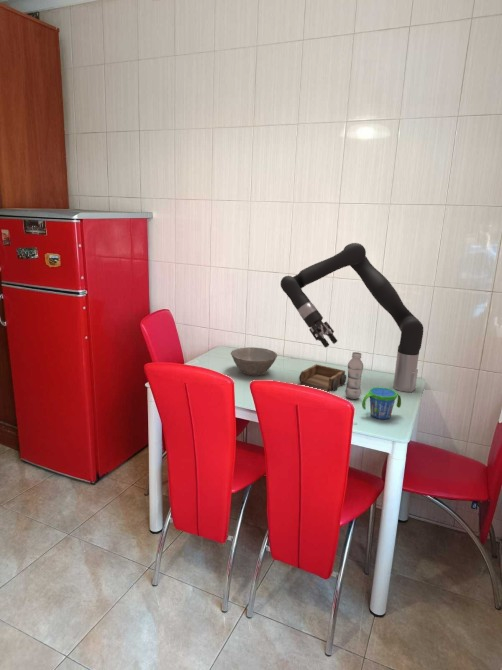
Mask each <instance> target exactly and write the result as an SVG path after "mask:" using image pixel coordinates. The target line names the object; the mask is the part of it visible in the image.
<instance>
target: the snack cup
mask: <svg viewBox="0 0 502 670" xmlns="http://www.w3.org/2000/svg"><path fill="white" fill-rule="evenodd" d="M368 398H369V406H370V407H369V409H370V415H371V416H372V417H373V418H376V419H377V418H378V419H377V420H387V419H390V418H391V415H392V412H393V409H394V405H395V402H396V407H397V408H401V407H402V397H401V395H400V393H397V392H396V391H395V390H394V389H391V388H388V387H383V386H382V387H379V386H377V387H371V388H370V389H369V390H368V393H366V394H365V395H364V397H363V398H362V401H361V402H362V403H361V406H362V409H363V410H366V409H367V408H366V401H367V400H368ZM396 399H397V401H396Z"/></svg>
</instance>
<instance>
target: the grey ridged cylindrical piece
mask: <svg viewBox="0 0 502 670" xmlns="http://www.w3.org/2000/svg"><path fill="white" fill-rule="evenodd" d="M363 370H364V363H363V361H362V353H361V352H356V351H355V352H354V351H353V352H352V354H351V359H350V360H349V361H348V362H347V380H346V382H347V383H346V387H345V391H344V393H345V394H344V395H345V396H346V398H348V399H350V400H351V399H352V400H358V399H360V397H361V395H362V389H361V388H362V387H361V385H362V384H361V383H362V381H361V380H362V375H363Z"/></svg>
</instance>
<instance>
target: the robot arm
mask: <svg viewBox="0 0 502 670" xmlns="http://www.w3.org/2000/svg"><path fill="white" fill-rule="evenodd" d="M366 254H367V251H366V248H365V247H364V245H363V244H361V243H358V242H352V243H349V244H348V243H347V245H345V246H344V248H343V249H342V250H341V251H340V252H338V253H336V254H335V255H333V256H330V257H329V258H326V259H323V260H321V261H319V262H317V263H314V264H312V265H310V266H308V267H306V268H304V269H302V270H300V271H299V273H297V274H295V276H291V275H285V276H284V277H282V278H281V280H280V288H281V289H282V291H283V292H284V293H285V294H286V296H287V297H288V298H289V300H290V301H291V303H292V305H293V306H294V308H295V309H296V310H297V312H298V314H299V316H300V317H301V318H302V320H303V321H304V323H305V324H306V326H307V327H308V328H309V329H308V330H309V331H310V333H311V335H312V336H313V338H314V339H315V341H320V343H321V344H322V345H323V348H325V349H326V348H327V347H329V346H330V343H329V342H328V341H327V339H326V338H325V336H327V337H328V338H329V340H330V341H331V343H332V344H333V345H335V344H337V342H338V339H337V338H336V337H335V335H334V333H335V330H334V329H333V328H332V327H331V326H330V324H329V322H327V321H325V322H323V321H322V320H323V319H324V317H323V316H322V314H321V313H320V311H319V310H318V308H317V307H316V306H315V305H314V303H313V302H311V300H310V299H309V297H308V296H307V294H306V293H305V292H304V291H303V288H305V287H306V286H308V285H310V284H312V283H314V282H316V281H318V280H321V279H322V278H325V277H327V276H328V275H330V274H332V273H334V272H336V271H338V270H340V269H343V268H346V267H351V269H353V271H355V273H356V274H357V275H358V276H359V278H360V279H361V281H362V283H363V284H364V285H365V287H366V288H367V290H368V291H369V293H370V294H371V296H372V297H373V298H374V299H375V300H376V302H378V304H379V305H380V306H381V307H382V308H383V309H384V310H385V311H386V312H387V314H389V315H390V316H391V317H392V319H393V320H394V322H395V323H396V326H398V329H399V330H400V339H399V340H400V341H399V345H398V346H397V352H396V353H397V355H396V361H395V368H394V369H395V370H394V376H393V377H394V378H393V387H392V388H393V389H395V390H397V391H400V392H407V393H413V392H414V391H415V389H416V386H417V379H418V373H419V372H418V371H419V369H418V361H419V355H420V350H421V349H422V343H423V337H424V325H423V323H422V322H421V321H420V320H419V319H418V318H417V317H416V316H415V315H414V314H413V313H412V312H411V311H410V310H409V309H408V308H407V306H406V305H405V304H404V303H403V301H402V299H401V297H400V295H399V294H398V292H397V290H396V288H395V287H394V286H393V285H392V283H391V282H390V281H389V280H388V278H387V277H386V276H384V275H383V274H382V272H381V271H379V270H378V269H377V268H375V266H374V265H373V264H372V263H371V261H370V260H369V258H368V257H367V255H366Z"/></svg>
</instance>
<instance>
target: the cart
mask: <svg viewBox="0 0 502 670" xmlns="http://www.w3.org/2000/svg"><path fill="white" fill-rule="evenodd" d="M298 381H299V382H300V385H305V386H309V387H313V388H317V389H321V390H324V391H327V392H326V393H328V392H329V391H331V392H333V391H334V392H335V390H336V391H337V390H338V388H339V387H340V386H345V384H346V382H347V375H346V370H343V369H338V368H334V367H330V366H327V365H321V364H317V363H316V364H314V365H312V366H310V367H307V368H306V369H304V370H301V372H300V375H299V379H298ZM332 390H333V391H332Z"/></svg>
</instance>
